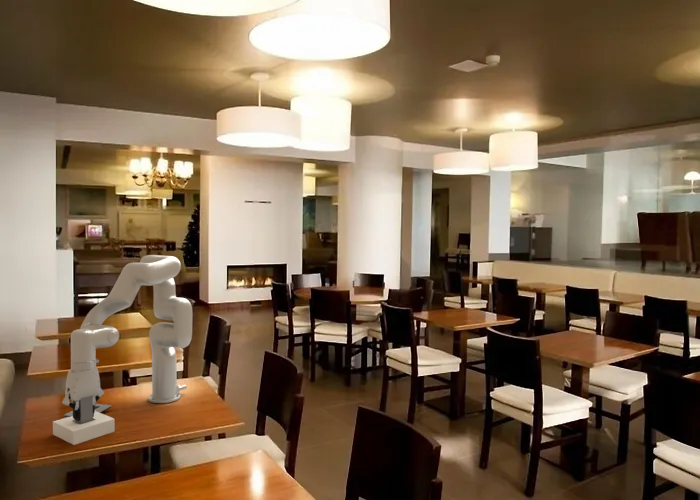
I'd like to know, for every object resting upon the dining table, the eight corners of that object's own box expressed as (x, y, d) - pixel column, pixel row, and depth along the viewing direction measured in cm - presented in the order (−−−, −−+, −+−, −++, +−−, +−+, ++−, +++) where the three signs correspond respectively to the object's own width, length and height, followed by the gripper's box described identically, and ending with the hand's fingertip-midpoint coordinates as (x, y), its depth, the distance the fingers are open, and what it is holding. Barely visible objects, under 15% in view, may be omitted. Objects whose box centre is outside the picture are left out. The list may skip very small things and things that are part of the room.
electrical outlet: (88, 423, 189) (88, 416, 189) (63, 420, 191) (63, 414, 191) (112, 410, 202) (112, 404, 201) (88, 408, 204) (88, 402, 204)
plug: (86, 421, 181) (86, 388, 181) (92, 423, 179) (92, 390, 178) (75, 424, 178) (74, 391, 178) (81, 427, 176) (80, 393, 175)
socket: (93, 422, 189) (93, 410, 188) (114, 431, 180) (114, 418, 180) (53, 434, 177) (52, 421, 177) (73, 445, 169) (73, 431, 169)
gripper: (101, 358, 187) (101, 409, 187) (52, 368, 173) (53, 422, 174) (112, 362, 182) (113, 413, 183) (63, 372, 169) (64, 428, 170)
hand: (83, 417), depth 178 cm, fingers closed on plug, 4 cm apart
